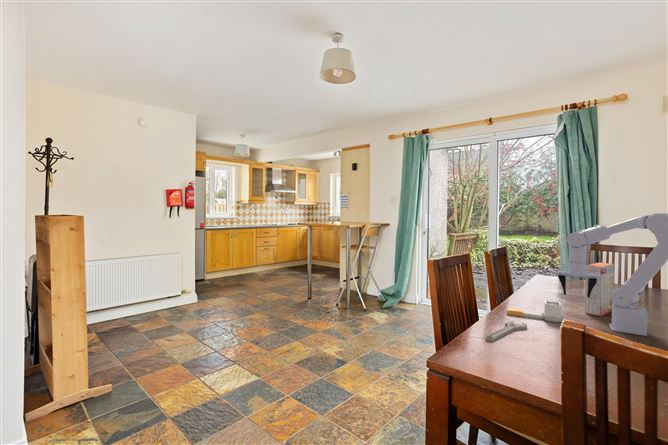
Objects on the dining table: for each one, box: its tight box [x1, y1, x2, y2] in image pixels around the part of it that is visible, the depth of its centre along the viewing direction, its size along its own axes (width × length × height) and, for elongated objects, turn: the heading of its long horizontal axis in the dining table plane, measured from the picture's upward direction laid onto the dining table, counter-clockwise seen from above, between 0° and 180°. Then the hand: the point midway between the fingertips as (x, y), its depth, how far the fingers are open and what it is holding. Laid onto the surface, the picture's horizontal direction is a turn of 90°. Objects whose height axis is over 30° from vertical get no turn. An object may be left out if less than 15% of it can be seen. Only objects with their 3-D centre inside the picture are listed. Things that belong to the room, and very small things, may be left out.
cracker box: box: [584, 262, 615, 317], centre depth 141 cm, size 14×6×21 cm, turn 123°
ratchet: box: [506, 308, 564, 325], centre depth 133 cm, size 20×7×5 cm, turn 58°
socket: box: [543, 300, 562, 319], centre depth 130 cm, size 5×5×5 cm
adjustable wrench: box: [485, 320, 528, 343], centre depth 117 cm, size 25×6×2 cm, turn 124°
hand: (576, 295), depth 132 cm, fingers open, 7 cm apart
